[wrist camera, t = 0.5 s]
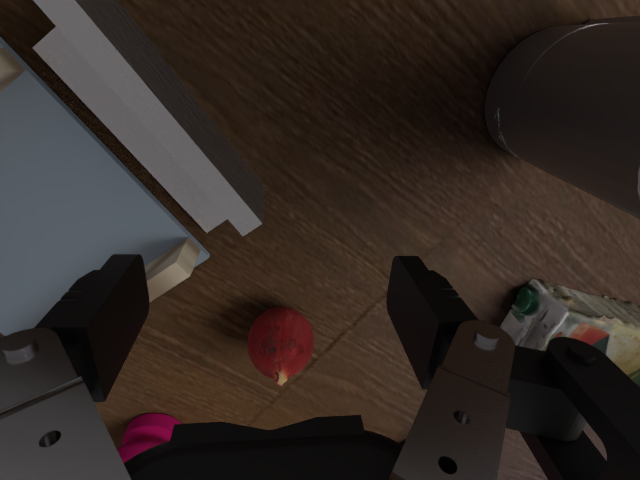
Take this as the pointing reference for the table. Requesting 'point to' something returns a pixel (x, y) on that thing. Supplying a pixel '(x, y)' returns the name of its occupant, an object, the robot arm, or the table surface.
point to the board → (64, 204)
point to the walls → (163, 269)
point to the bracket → (150, 111)
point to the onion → (280, 343)
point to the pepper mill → (146, 434)
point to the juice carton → (576, 322)
